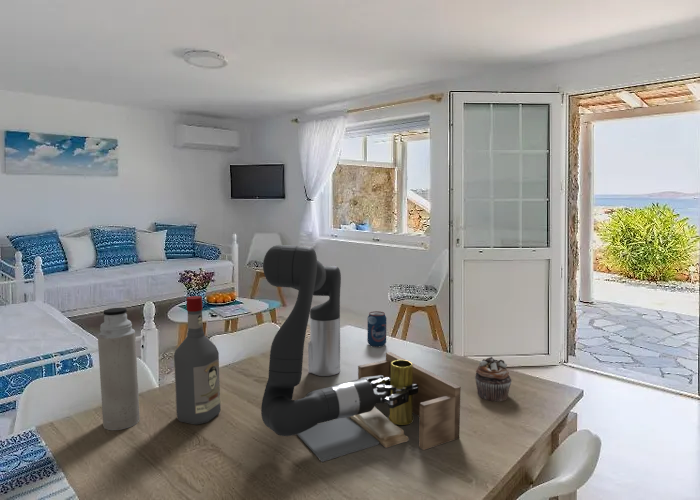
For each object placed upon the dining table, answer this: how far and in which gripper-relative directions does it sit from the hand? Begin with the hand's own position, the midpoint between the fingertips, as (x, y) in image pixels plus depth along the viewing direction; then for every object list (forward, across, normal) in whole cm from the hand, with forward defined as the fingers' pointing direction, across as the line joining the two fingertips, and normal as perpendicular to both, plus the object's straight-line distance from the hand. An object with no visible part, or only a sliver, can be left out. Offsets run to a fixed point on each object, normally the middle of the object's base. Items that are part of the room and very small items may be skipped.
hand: (409, 384), depth 115 cm
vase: (-3, 0, +9) cm, 9 cm away
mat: (-21, 0, +8) cm, 22 cm away
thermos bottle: (-62, +32, +9) cm, 70 cm away
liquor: (-45, +27, +9) cm, 53 cm away
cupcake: (+28, -1, +9) cm, 29 cm away
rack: (-5, 0, +8) cm, 10 cm away
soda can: (+24, +52, +9) cm, 58 cm away
